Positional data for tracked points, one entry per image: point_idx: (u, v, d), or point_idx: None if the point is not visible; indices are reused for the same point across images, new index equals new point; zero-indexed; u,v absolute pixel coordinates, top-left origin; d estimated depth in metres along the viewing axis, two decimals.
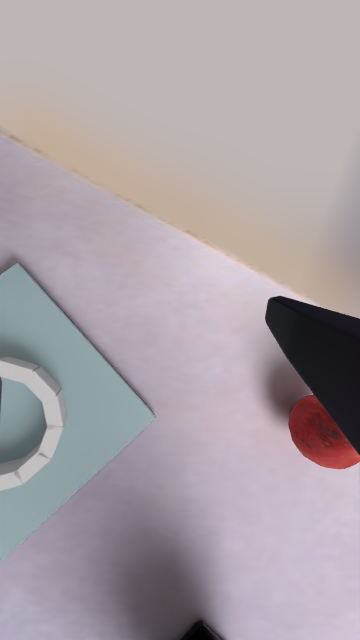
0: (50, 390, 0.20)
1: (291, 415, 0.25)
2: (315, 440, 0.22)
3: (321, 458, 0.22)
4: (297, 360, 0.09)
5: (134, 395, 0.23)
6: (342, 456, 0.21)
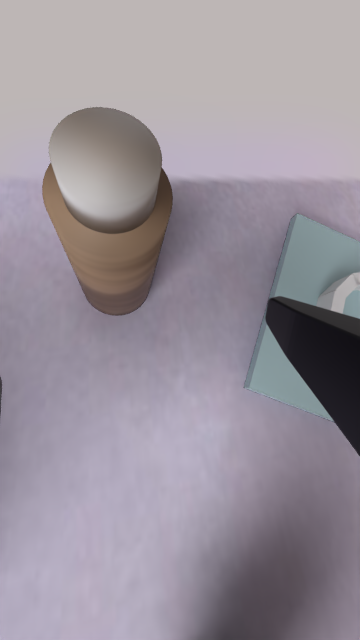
0: None
1: None
2: None
3: None
4: (297, 360, 0.09)
5: None
6: None
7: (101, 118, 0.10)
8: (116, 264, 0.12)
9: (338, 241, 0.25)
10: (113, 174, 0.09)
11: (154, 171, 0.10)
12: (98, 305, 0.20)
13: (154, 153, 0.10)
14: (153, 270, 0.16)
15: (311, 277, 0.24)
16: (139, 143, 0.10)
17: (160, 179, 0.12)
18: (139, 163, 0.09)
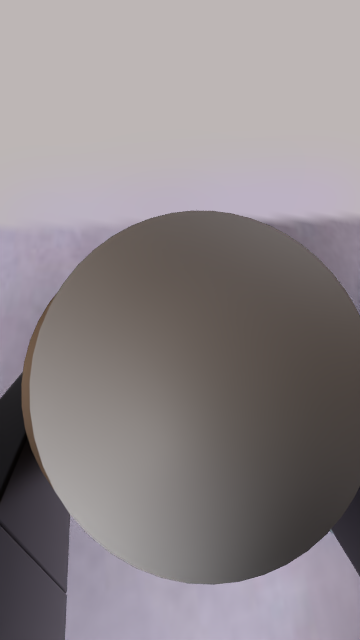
0: None
1: None
2: None
3: None
4: None
5: None
6: None
7: (196, 248, 0.03)
8: None
9: None
10: (250, 456, 0.03)
11: None
12: None
13: (354, 351, 0.03)
14: None
15: None
16: (310, 321, 0.03)
17: None
18: (318, 396, 0.03)
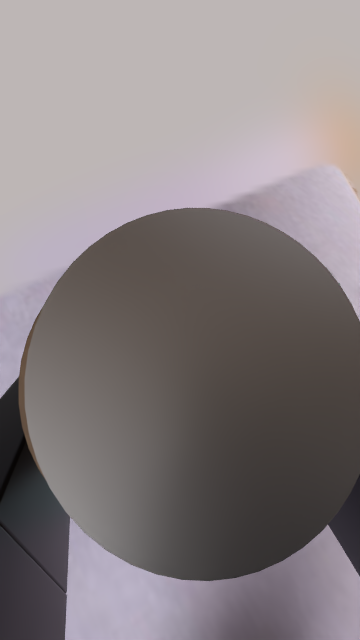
0: None
1: None
2: None
3: None
4: None
5: None
6: None
7: (192, 245, 0.03)
8: None
9: None
10: (246, 453, 0.03)
11: None
12: None
13: (351, 347, 0.03)
14: None
15: None
16: (306, 318, 0.03)
17: None
18: (314, 393, 0.03)
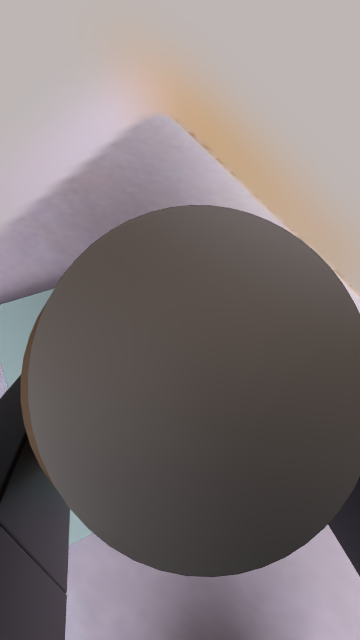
0: None
1: None
2: None
3: None
4: None
5: None
6: None
7: (195, 242, 0.03)
8: None
9: None
10: (248, 450, 0.03)
11: None
12: None
13: (353, 344, 0.03)
14: None
15: None
16: (308, 315, 0.03)
17: None
18: (316, 390, 0.03)
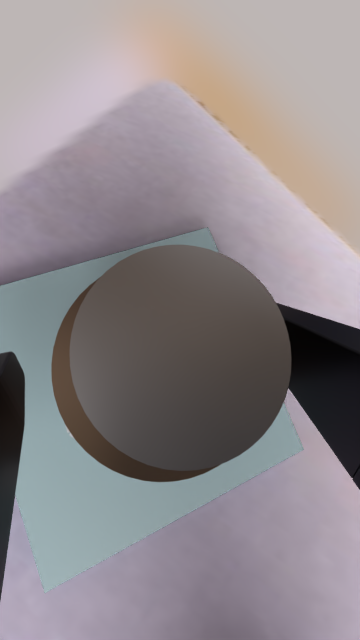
0: None
1: None
2: None
3: None
4: None
5: (285, 410, 0.18)
6: None
7: (172, 268, 0.05)
8: None
9: (41, 289, 0.17)
10: (204, 398, 0.04)
11: (280, 376, 0.05)
12: None
13: (275, 334, 0.05)
14: None
15: (34, 370, 0.16)
16: (246, 315, 0.05)
17: None
18: (250, 362, 0.05)
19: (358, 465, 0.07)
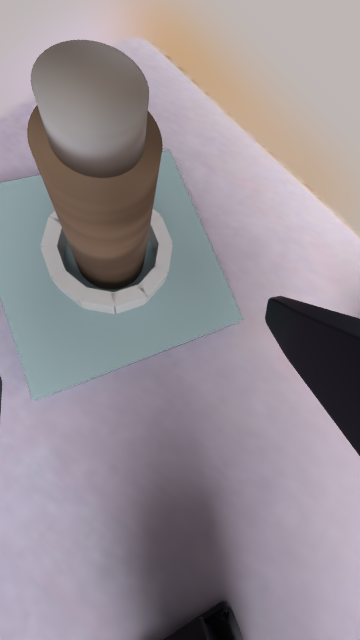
0: (168, 237, 0.21)
1: None
2: None
3: None
4: (297, 360, 0.09)
5: (229, 289, 0.23)
6: None
7: (86, 50, 0.09)
8: (104, 215, 0.12)
9: (32, 187, 0.22)
10: (98, 106, 0.09)
11: (140, 104, 0.09)
12: (91, 276, 0.19)
13: (141, 87, 0.09)
14: (145, 234, 0.16)
15: (27, 245, 0.21)
16: (125, 77, 0.09)
17: (149, 126, 0.12)
18: (125, 96, 0.09)
19: None
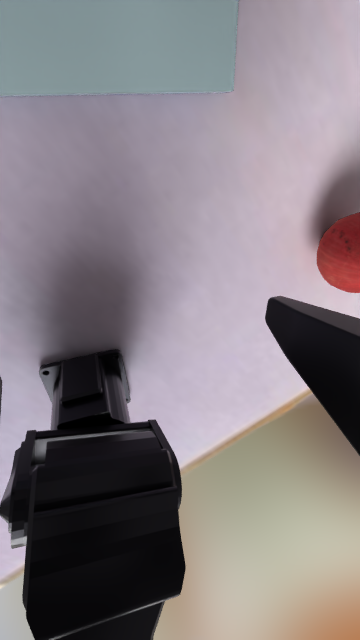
0: None
1: (343, 219, 0.21)
2: None
3: (351, 265, 0.20)
4: (297, 360, 0.09)
5: (235, 23, 0.14)
6: None
7: None
8: None
9: None
10: None
11: None
12: None
13: None
14: None
15: None
16: None
17: None
18: None
19: None
